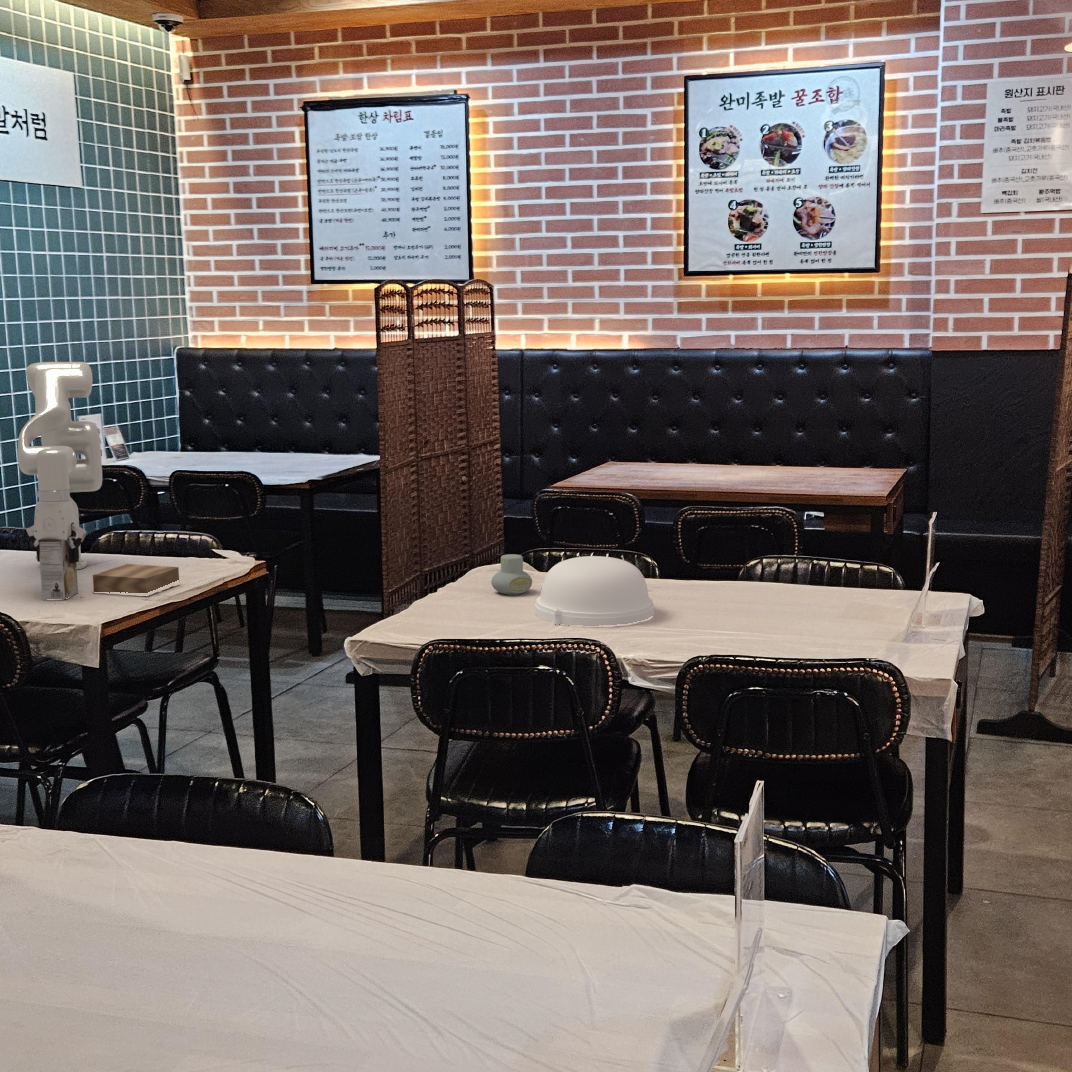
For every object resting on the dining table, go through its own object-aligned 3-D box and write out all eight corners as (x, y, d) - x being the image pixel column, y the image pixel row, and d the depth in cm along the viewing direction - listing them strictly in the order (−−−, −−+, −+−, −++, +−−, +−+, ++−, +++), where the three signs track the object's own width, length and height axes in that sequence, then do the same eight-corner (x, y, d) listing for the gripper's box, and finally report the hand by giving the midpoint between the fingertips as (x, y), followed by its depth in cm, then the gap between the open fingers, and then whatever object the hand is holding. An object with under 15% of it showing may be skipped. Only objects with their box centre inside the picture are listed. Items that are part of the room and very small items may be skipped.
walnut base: (93, 593, 351) (92, 574, 350) (128, 581, 366) (127, 563, 365) (146, 597, 347) (145, 578, 346) (179, 585, 362) (178, 567, 361)
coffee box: (54, 593, 351) (51, 533, 349) (78, 593, 351) (75, 533, 349) (41, 600, 342) (37, 539, 340) (65, 600, 342) (62, 539, 340)
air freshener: (502, 598, 347) (502, 560, 345) (486, 592, 354) (486, 555, 352) (537, 593, 353) (537, 556, 351) (520, 587, 360) (520, 551, 358)
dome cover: (584, 595, 351) (585, 543, 349) (679, 611, 333) (681, 557, 330) (507, 617, 327) (507, 561, 324) (605, 635, 308) (605, 576, 306)
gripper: (16, 497, 341) (20, 562, 344) (74, 499, 336) (78, 565, 339) (34, 493, 348) (38, 558, 351) (91, 495, 343) (95, 560, 346)
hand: (58, 561), depth 345 cm, fingers open, 9 cm apart
